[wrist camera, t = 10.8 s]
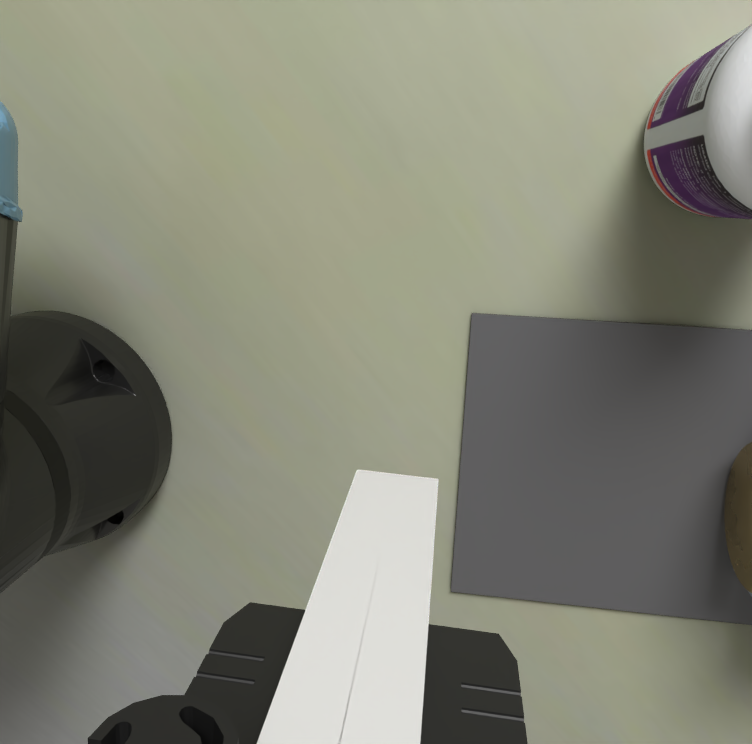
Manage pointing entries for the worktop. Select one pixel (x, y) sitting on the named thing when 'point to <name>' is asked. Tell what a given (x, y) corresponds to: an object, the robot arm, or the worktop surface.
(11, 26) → the worktop surface
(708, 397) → the mat
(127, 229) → the worktop surface
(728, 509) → the pin
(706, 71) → the pill bottle
